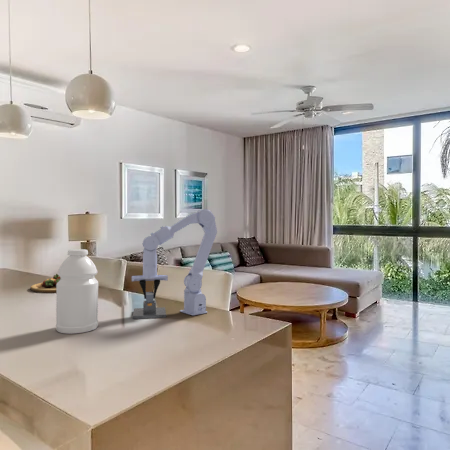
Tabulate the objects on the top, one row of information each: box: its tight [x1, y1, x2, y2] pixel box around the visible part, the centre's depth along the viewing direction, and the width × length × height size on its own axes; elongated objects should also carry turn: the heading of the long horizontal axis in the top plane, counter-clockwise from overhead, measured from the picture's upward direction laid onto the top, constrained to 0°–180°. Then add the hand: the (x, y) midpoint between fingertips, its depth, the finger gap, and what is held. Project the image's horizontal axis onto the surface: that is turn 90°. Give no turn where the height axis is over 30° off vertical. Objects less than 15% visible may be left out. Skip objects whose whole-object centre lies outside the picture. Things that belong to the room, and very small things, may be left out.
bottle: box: [55, 248, 99, 335], centre depth 130 cm, size 14×14×28 cm
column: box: [145, 291, 154, 303], centre depth 152 cm, size 3×3×7 cm
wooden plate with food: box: [30, 273, 61, 294], centre depth 212 cm, size 32×32×8 cm
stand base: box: [132, 299, 167, 320], centre depth 152 cm, size 13×13×5 cm
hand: (149, 298), depth 152 cm, fingers closed on column, 3 cm apart
